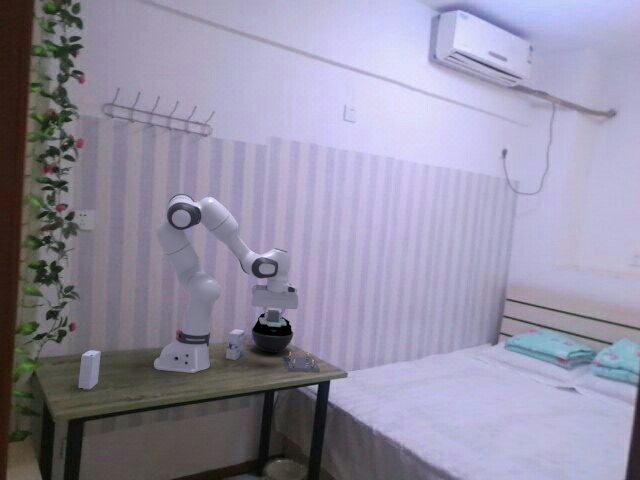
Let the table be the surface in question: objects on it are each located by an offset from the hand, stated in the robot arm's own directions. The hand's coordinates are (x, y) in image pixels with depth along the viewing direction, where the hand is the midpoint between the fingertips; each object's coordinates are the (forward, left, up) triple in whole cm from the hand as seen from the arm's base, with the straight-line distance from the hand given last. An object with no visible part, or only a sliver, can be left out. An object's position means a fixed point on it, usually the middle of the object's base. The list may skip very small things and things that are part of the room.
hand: (273, 317), depth 212 cm
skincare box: (-67, -26, -22) cm, 75 cm away
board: (0, 0, -2) cm, 2 cm away
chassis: (+15, +3, -22) cm, 27 cm away
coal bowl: (+4, +22, -22) cm, 32 cm away
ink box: (-14, +12, -22) cm, 29 cm away
